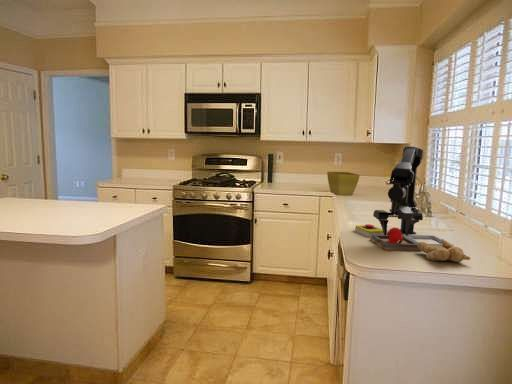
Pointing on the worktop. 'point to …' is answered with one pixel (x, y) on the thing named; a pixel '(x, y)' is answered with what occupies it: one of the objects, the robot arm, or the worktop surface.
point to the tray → (426, 238)
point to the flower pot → (342, 182)
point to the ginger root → (443, 252)
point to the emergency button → (368, 230)
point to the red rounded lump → (395, 235)
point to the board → (385, 244)
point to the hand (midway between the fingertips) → (395, 235)
